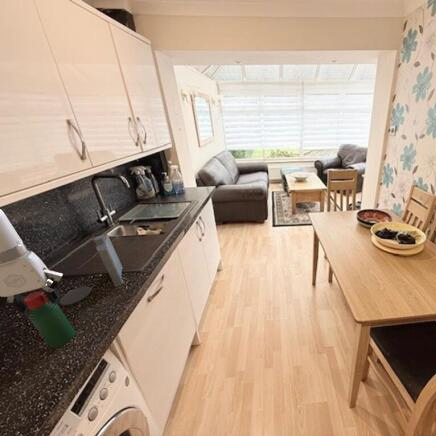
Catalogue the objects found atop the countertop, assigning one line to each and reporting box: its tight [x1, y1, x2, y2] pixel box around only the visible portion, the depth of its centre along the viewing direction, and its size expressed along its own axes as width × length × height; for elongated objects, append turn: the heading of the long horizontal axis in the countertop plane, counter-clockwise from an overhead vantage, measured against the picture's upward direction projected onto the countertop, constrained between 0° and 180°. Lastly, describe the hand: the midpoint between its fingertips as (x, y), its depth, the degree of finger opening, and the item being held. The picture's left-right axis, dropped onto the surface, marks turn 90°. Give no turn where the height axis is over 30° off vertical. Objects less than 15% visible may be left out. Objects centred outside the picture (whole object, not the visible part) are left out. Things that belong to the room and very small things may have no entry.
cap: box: [24, 290, 49, 310], centre depth 69 cm, size 4×4×3 cm
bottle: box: [28, 301, 77, 349], centre depth 72 cm, size 6×6×18 cm
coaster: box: [59, 286, 93, 307], centre depth 94 cm, size 10×10×1 cm
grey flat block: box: [92, 233, 125, 288], centre depth 100 cm, size 16×4×20 cm, turn 35°
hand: (41, 304), depth 70 cm, fingers open, 6 cm apart
